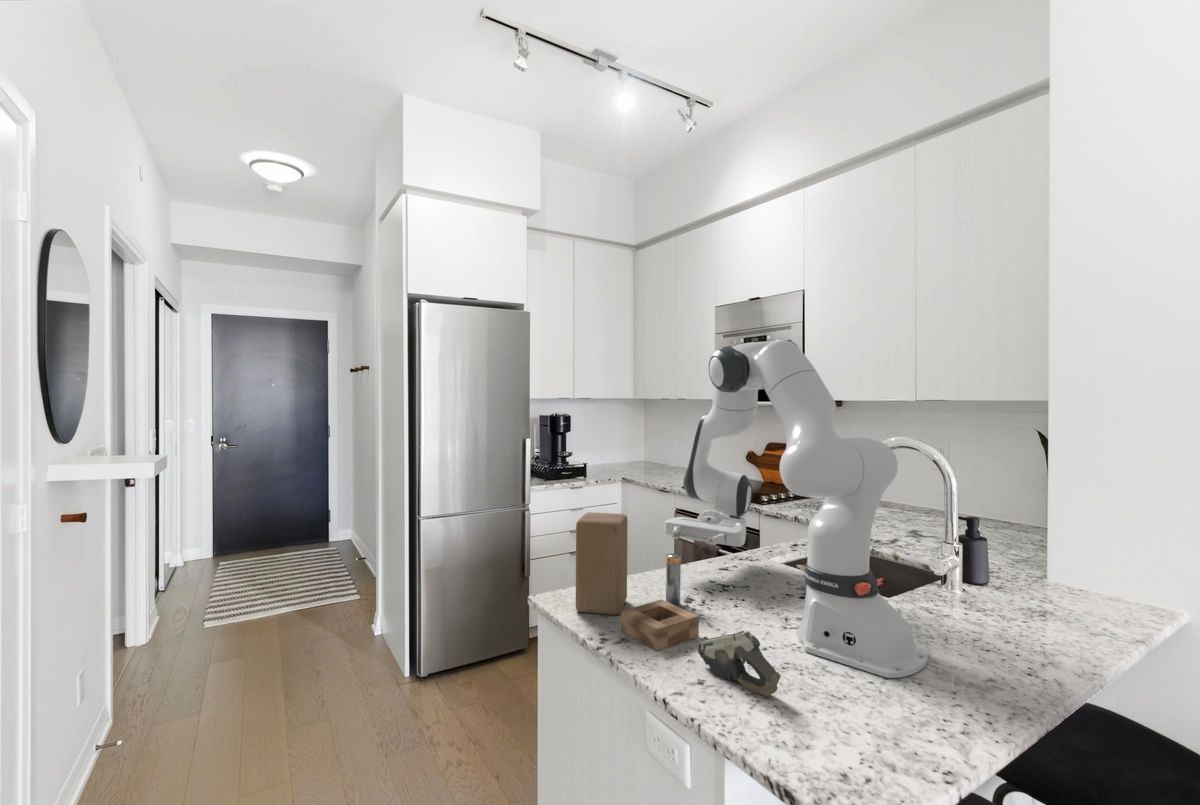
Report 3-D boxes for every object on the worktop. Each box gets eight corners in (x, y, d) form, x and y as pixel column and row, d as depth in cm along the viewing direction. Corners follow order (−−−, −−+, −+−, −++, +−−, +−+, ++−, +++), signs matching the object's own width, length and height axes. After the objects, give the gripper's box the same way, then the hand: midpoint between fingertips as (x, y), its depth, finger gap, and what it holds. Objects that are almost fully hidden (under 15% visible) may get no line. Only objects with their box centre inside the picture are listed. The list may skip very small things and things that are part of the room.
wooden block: (620, 617, 122) (621, 523, 122) (574, 613, 124) (574, 520, 124) (627, 600, 132) (628, 513, 131) (584, 596, 134) (585, 511, 133)
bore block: (698, 636, 113) (698, 616, 113) (657, 650, 106) (657, 629, 106) (661, 618, 122) (661, 599, 121) (621, 630, 115) (621, 610, 115)
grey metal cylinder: (683, 604, 129) (683, 556, 129) (672, 607, 127) (673, 558, 127) (673, 600, 132) (673, 552, 132) (662, 603, 130) (663, 554, 130)
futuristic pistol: (719, 696, 100) (700, 637, 103) (786, 690, 90) (763, 624, 93) (709, 701, 99) (690, 640, 102) (777, 695, 88) (753, 628, 91)
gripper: (677, 509, 156) (654, 519, 145) (751, 519, 145) (733, 531, 134) (676, 532, 157) (653, 544, 145) (751, 544, 146) (732, 558, 134)
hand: (692, 538), depth 139 cm, fingers open, 8 cm apart
